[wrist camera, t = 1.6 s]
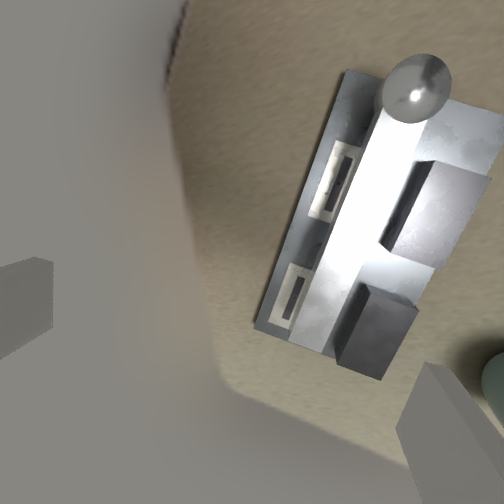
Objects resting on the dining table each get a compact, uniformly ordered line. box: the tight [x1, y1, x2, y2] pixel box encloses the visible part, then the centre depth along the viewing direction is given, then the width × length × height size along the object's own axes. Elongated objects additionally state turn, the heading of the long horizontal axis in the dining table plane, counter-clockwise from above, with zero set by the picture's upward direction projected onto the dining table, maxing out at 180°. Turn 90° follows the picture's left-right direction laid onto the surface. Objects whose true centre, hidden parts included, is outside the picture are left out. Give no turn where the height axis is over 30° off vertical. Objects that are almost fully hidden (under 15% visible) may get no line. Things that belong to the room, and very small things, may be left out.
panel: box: [253, 69, 504, 381], centre depth 27 cm, size 26×14×4 cm, turn 163°
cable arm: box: [288, 54, 451, 353], centre depth 23 cm, size 22×4×3 cm, turn 163°
